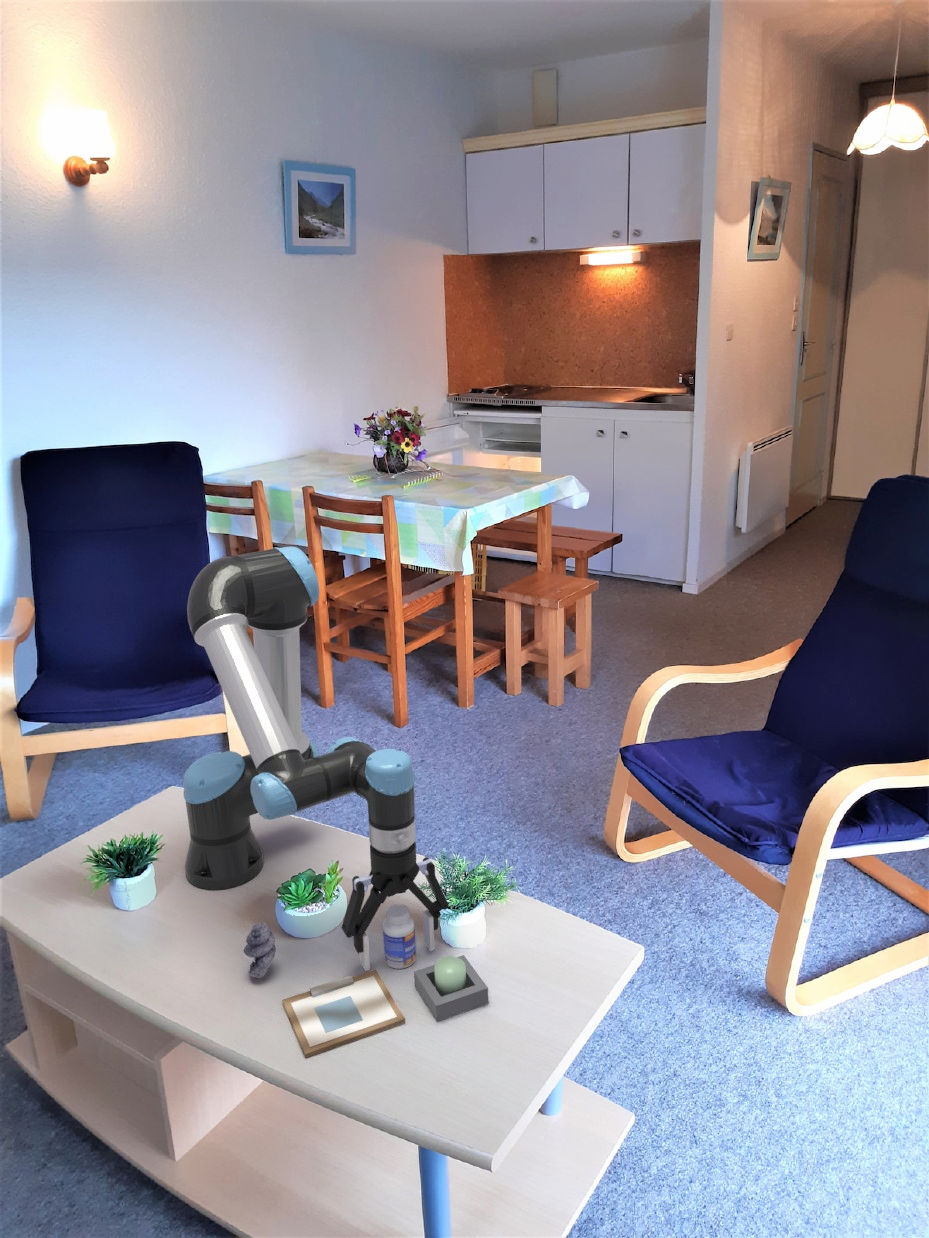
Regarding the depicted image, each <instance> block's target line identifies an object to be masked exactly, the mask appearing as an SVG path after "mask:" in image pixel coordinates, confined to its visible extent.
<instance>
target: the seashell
mask: <svg viewBox="0 0 929 1238" xmlns="http://www.w3.org/2000/svg"><path fill="white" fill-rule="evenodd" d="M245 942H246V945H245V946H244V949H243V952H244V954H245V956H247V957H248V958H253V959H254V960H253V961H251V962H250V963H249V971H248V975H250V976H251V977H252V978H255V979H259V980H260V979H262V978H263V977H264V976H265V975H266V974H267V972H268V970H269V969H270V966H271V963H273V962H272V961H273V960H274V958H275V956H276V951H277V947H276V945H275V943H276V937H275V934H274V933H273V931H272V930H270V929H269V926H268V924H267V923H266V922H262V923H260V922H258V923H256V924H254V925H253V926H252V927H251V931H250V932H249V933H248V934H247V936H246V940H245Z"/></svg>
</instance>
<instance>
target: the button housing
mask: <svg viewBox="0 0 929 1238" xmlns="http://www.w3.org/2000/svg"><path fill="white" fill-rule="evenodd" d="M457 957H458V958H460V959H462V960H463V961H464V963H465V965H466V989H463V990H460V991H457V992H454V993H451V994H448V995H445V996H443V997H442V996H440V995H439V993H438V992H437V990H436V989H435V970H434V966H435V964H433V965H429V966H426V967H423V968H420V969H417V970H415V971H413V979H414V989H416V992H417V993H418V995H420V997H421V999H422V1001H423V1002H424V1004H425V1005H426V1007H427V1008H428V1010H429V1012H430V1013H431V1016H432V1017H433V1018H434V1019H435V1022H441V1021H443V1020H446V1019H449V1018H452V1017H454V1016H457V1015H461V1014H463V1013H465V1012H467V1011H470V1010H474V1009H477V1008H480V1007H482V1006H485V1005H488V1004H489V987H488V985H487V984H486V983H485V981H484V980H483V979H482V978H481V976H480V975H479V973H478V972H477V971H476V969H475V968H474V967H473V965H472V964H471V963H470V962H469V960H468V959H467V958H466V956H465V955H464V954H462V955H459V956H457Z"/></svg>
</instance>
